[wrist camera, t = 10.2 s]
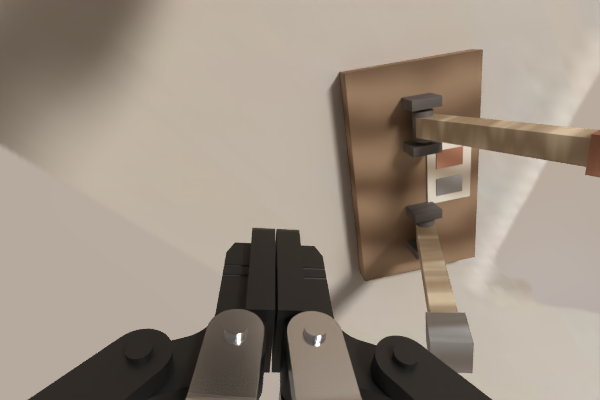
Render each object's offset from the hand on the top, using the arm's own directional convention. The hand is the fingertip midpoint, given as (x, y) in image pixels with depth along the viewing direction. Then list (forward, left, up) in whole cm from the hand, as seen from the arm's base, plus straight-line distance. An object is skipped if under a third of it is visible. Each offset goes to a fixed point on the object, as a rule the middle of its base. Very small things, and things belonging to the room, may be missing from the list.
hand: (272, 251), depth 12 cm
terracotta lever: (+4, +16, -26) cm, 31 cm away
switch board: (+10, +17, -28) cm, 34 cm away
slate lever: (+16, +17, -25) cm, 34 cm away
